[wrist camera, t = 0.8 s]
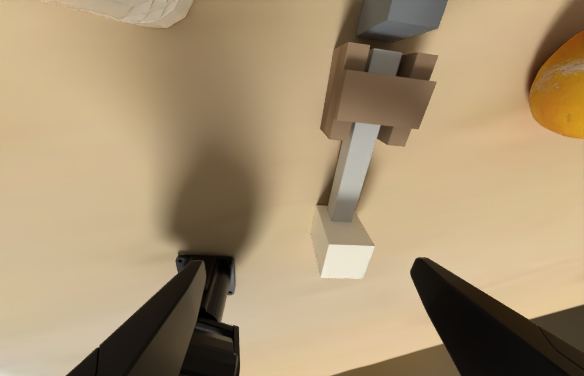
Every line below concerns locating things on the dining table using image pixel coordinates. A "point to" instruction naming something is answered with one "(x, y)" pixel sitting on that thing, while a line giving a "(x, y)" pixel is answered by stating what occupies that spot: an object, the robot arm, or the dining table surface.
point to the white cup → (133, 10)
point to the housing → (376, 95)
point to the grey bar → (350, 194)
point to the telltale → (399, 18)
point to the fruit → (561, 90)
